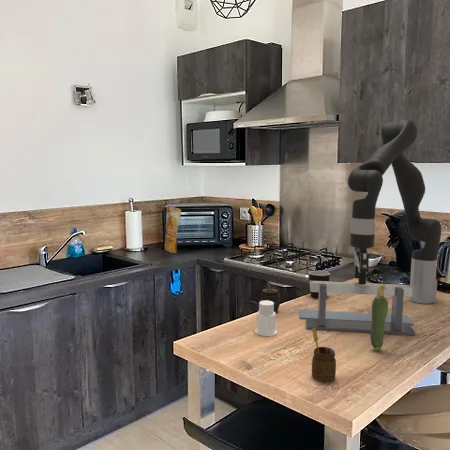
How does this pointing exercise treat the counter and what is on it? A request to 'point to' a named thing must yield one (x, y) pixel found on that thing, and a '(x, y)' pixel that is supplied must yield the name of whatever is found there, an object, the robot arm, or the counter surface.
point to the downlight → (266, 319)
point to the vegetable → (378, 318)
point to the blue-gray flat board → (348, 316)
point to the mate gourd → (271, 297)
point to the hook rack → (360, 326)
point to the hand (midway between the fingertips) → (360, 281)
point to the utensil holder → (323, 362)
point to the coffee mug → (318, 277)
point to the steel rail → (359, 288)
